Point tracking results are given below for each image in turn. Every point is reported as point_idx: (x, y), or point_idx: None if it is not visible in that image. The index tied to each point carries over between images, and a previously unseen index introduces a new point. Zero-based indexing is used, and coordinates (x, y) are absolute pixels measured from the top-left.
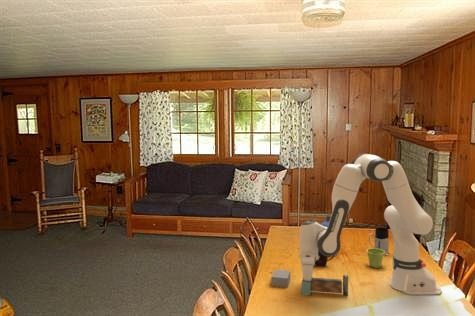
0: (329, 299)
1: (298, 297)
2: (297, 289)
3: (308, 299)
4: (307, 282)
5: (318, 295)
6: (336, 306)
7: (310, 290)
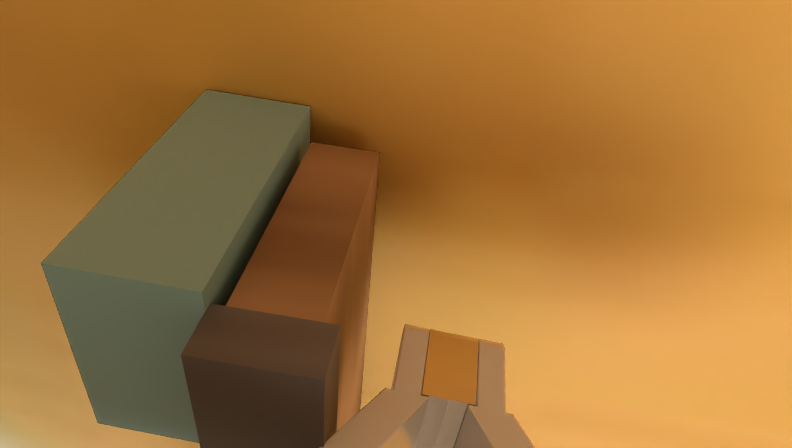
0: None
1: (54, 11)
2: (452, 22)
3: (57, 180)
4: (90, 381)
5: None
6: (29, 420)
7: None
